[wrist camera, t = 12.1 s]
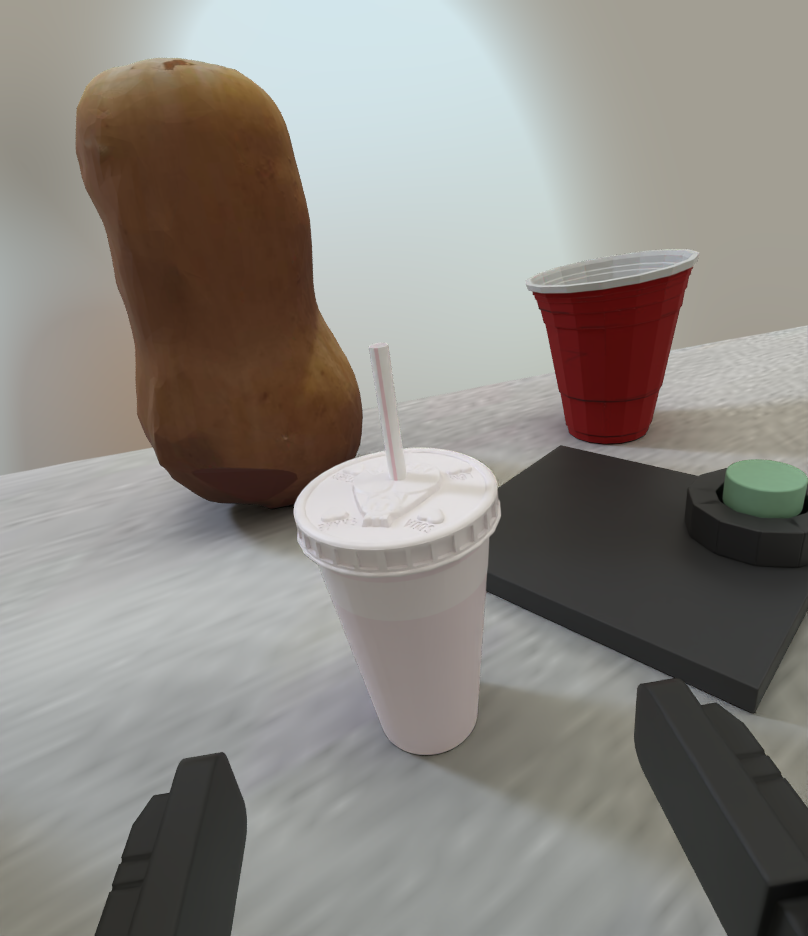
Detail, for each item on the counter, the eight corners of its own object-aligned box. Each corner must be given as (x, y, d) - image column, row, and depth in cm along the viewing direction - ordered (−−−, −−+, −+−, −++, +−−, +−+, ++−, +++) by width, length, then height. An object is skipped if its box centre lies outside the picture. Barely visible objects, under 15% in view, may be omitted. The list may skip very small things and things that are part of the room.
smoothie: (519, 656, 24) (501, 315, 18) (507, 805, 18) (473, 383, 12) (372, 645, 25) (309, 330, 19) (320, 777, 20) (209, 395, 14)
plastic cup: (542, 402, 49) (538, 255, 44) (681, 403, 45) (694, 242, 40) (517, 457, 41) (508, 281, 35) (687, 464, 36) (706, 266, 31)
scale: (755, 715, 20) (768, 650, 19) (420, 561, 31) (414, 512, 29) (849, 531, 28) (862, 477, 27) (560, 460, 39) (560, 420, 38)
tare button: (790, 529, 25) (796, 497, 24) (711, 509, 27) (715, 479, 26) (810, 498, 27) (816, 468, 26) (735, 481, 29) (739, 453, 28)
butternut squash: (361, 440, 47) (298, 77, 36) (388, 520, 35) (306, 13, 24) (189, 473, 45) (68, 104, 35) (155, 569, 33) (-46, 50, 23)
